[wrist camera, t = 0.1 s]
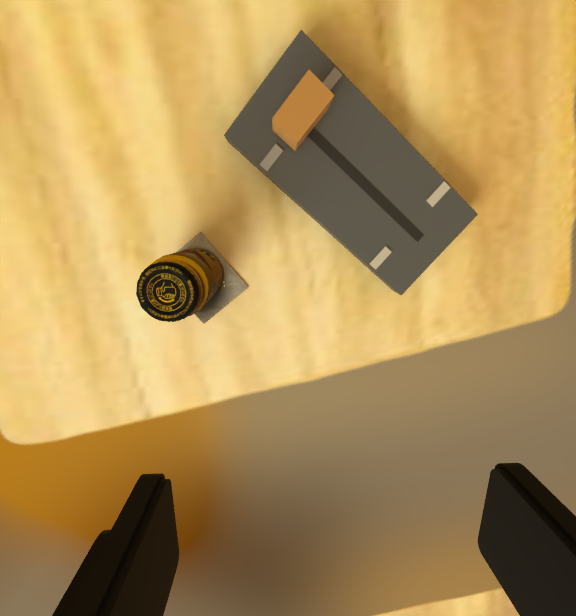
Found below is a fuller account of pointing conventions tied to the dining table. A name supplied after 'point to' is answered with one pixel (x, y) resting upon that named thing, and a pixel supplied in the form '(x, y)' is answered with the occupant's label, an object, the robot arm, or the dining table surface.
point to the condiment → (188, 283)
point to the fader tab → (302, 110)
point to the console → (353, 172)
